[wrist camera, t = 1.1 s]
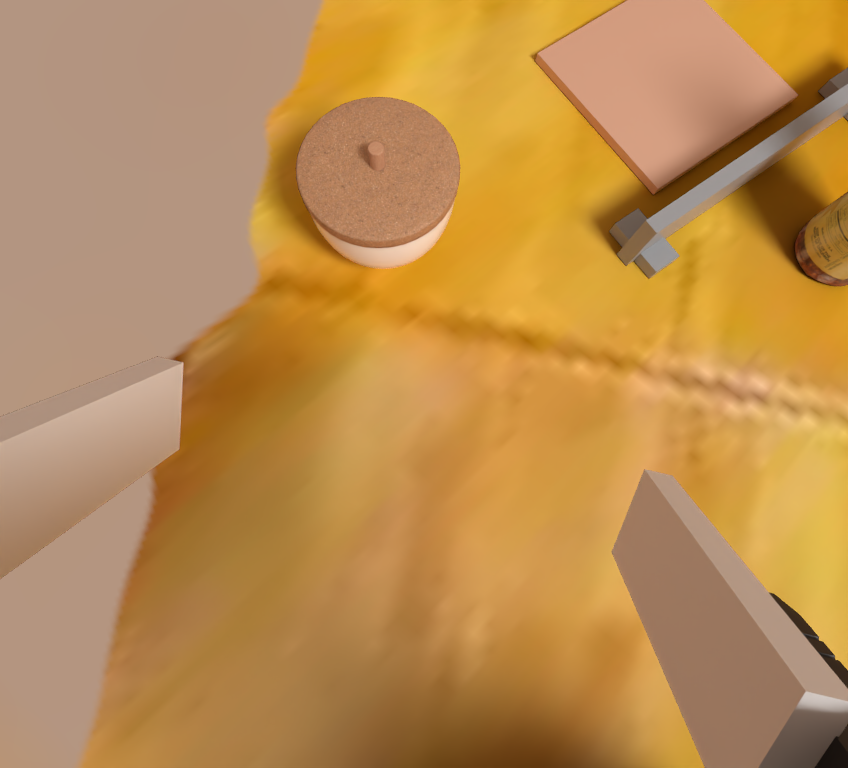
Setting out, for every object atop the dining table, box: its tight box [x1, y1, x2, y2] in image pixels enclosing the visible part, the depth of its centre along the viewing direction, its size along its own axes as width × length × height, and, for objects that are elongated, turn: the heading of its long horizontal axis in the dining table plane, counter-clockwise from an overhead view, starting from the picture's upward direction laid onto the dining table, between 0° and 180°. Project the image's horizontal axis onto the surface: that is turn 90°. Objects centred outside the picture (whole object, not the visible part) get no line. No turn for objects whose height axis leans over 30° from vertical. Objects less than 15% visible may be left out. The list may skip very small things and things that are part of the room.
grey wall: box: [609, 68, 848, 278], centre depth 38 cm, size 5×28×5 cm, turn 125°
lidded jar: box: [296, 97, 460, 269], centre depth 34 cm, size 11×11×9 cm
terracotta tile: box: [535, 0, 798, 195], centre depth 41 cm, size 16×16×1 cm
